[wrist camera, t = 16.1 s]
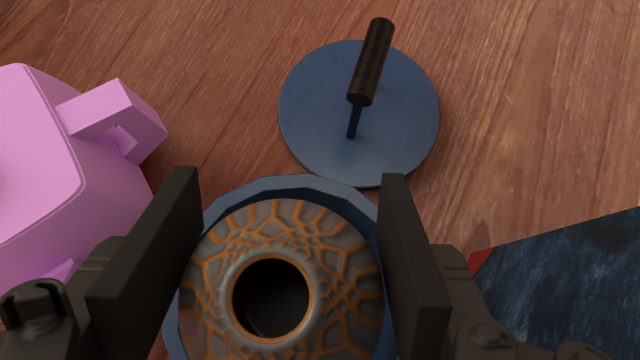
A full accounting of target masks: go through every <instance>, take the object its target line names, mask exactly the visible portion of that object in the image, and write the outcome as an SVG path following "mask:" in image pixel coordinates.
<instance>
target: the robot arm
mask: <svg viewBox="0 0 640 360" xmlns="http://www.w3.org/2000/svg"><path fill="white" fill-rule="evenodd" d="M203 230H204V221H203V213H202V205H201V196H200V188H199V180H198V172H197V167H196V166H176V167H175V168H174V169H173V171H172V172H171V174H170V175H169V176H168V178H167V179H166V181H165V182H164V184H163V185H162V186H161V188H160V189H159V191H158V192H157V193H156V195H155V196H154V198H153V199H152V200H151V202H150V203H149V205H148V206H147V207H146V209H145V210H144V212H143V213H142V215H141V216H140V217H139V219H138V220H137V222H136V223H135V224H134V226H133V227H132V229H131V230H130V231H129V233H128V234H127V236H110V237H108V238H107V239H105V240H104V241H102V242H101V243H99V244H98V245H96V246H95V247H94V249H93V250H92V251H91V253H90V254H89V255H88V256H87V258H86V260H84V261H83V263H82V264H81V265H80V266H79V269H78V270H76V271H75V273H74V274H73V275H72V277H71V278H70V279H69V280H68V282H67V283H66V284H65V285H64V284H63V283H62V282H61V281H60V280H58V279H54V278H37V279H34V280H30V281H27V282H24V283H22V284H20V285H17V286H15V287H13V288H12V289H10V290H9V291H8V292H6V293H5V294H4V295H2V296H1V297H0V317H1V319H2V321H3V323H4V325H5V327H6V329H7V331H4V332H0V360H146V359H147V357H148V355H149V353H150V350H151V348H152V346H153V344H154V341H155V339H156V337H157V334H158V332H159V330H160V328H161V325H162V323H163V321H164V319H165V316H166V314H167V312H168V309H169V307H170V305H171V303H172V300H173V298H174V296H175V293H176V291H177V289H178V287H179V284H180V282H181V280H182V276H183V274H184V271H185V268H186V266H187V263H188V261H189V259H190V257H191V255H192V253H193V252H194V250H195V248H196V246H197V243H198V241H199V239H200V237H201V234H202V232H203ZM375 235H376V241H377V246H378V251H379V256H380V261H381V267H382V272H383V277H384V282H385V287H386V293H387V298H388V303H389V308H390V313H391V319H392V324H393V329H394V334H395V339H396V345H397V350H398V355H399V360H613V359H612V358H611V357H610V356H608V355H607V354H606V353H604V352H603V351H602V350H600V349H598V348H596V347H594V346H592V345H590V344H587V343H583V342H579V341H565V342H563V343H561V344H560V345H558V347H557V349H556V351H555V352H552V351H549V350H545V349H542V348H538V347H535V346H531V345H528V344H525V343H523V342H520V341H518V340H516V339H515V336H514V335H513V334H512V333H511V331H510V330H509V329H508V328H507V327H506V326H505V325H503V324H502V323H500V322H499V321H497V320H495V319H493V317H492V315H491V313H490V311H489V309H488V307H487V305H486V302H485V300H484V298H483V296H482V294H481V292H480V290H479V288H478V286H477V284H476V281H474V277H473V275H472V273H471V271H470V270H469V267H468V265H467V263H466V260H465V258H464V256H463V255H462V254H461V253H460V252H459V251H458V250H457V249H455V248H454V247H453V246H452V245H441V244H429V241H428V239H427V236H426V233H425V231H424V228H423V225H422V223H421V220H420V217H419V215H418V212H417V209H416V207H415V204H414V202H413V199H412V196H411V194H410V191H409V188H408V186H407V183H406V180H405V178H404V175H403V173H383V172H382V179H381V188H380V196H379V204H378V213H377V221H376V229H375Z"/></svg>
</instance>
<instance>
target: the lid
mask: <svg viewBox="0 0 640 360" xmlns="http://www.w3.org/2000/svg"><path fill="white" fill-rule="evenodd" d="M394 31H395V26H394V24H393V23H392V22H391V21H390V20H388V19H386V18H382V17H377V18H374V19H372V20H371V22H370V24H369V27H368V30H367V33H366V36H365V39H364V40H345V41H339V42H335V43H331V44H328V45H325V46H323V47H320V48H318V49H317V50H315V51H313V52H311V53H310V54H308V55H307V56H305V57H304V58H303V59H302V60H301V61H300V62H299V63H298V64H297V65H296V66H295V67H294V68H293V69H292V71H291V72H290V74H289V75H288V77H287V78H286V81H285V83H284V85H283V87H282V90H281V94H280V98H279V104H278V117H279V125H280V129H281V133H282V136H283V139H284V141H285V143H286V145H287V147H288V149H289V150H290V152H291V154H292V155H293V156H294V157H295V159H296V160H297V161H298V162H299V163H300V164H301V165H302V166H303V167H304V168H305V169H306V170H308V171H309V172H310V173H312V174H313V175H317V176H320V177H323V178H326V179H330V180H333V181H336V182H339V183H343V184H346V185H349V186H352V187H354V188H356V189H370V188H377V187H381V179H382V172H383V173H403V175H404V177H405V176H407V175H408V174H410V173H411V172H412V171H413V170H415V169H416V168H417V167H418V166H419V165H420V164H421V163H422V162H423V160H424V159H425V158H426V156H427V155H428V153H429V152H430V150H431V148H432V146H433V144H434V142H435V140H436V137H437V134H438V129H439V123H440V111H439V103H438V99H437V96H436V93H435V90H434V88H433V85H432V84H431V82H430V80H429V78H428V77H427V75H426V74H425V73H424V71H423V70H422V69H421V68H420V67H419V66H418V65H417V64H416V63H415V62H414V61H413V60H412V59H410V58H409V57H408V56H406V55H405V54H403V53H402V52H400V51H398V50H396V49H394V48H392V47H390V44H391V41H392V38H393V35H394Z"/></svg>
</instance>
